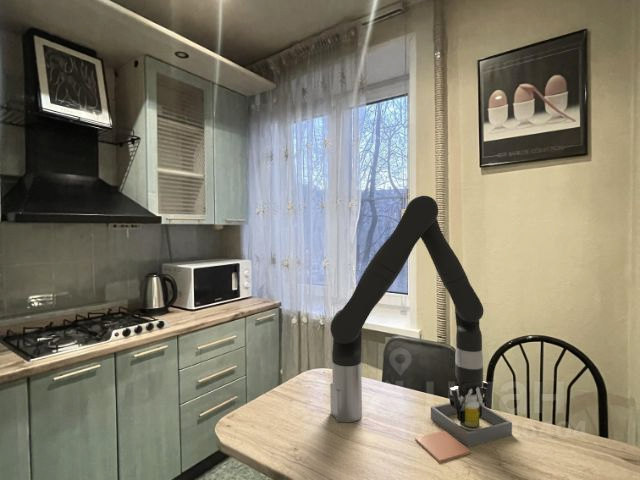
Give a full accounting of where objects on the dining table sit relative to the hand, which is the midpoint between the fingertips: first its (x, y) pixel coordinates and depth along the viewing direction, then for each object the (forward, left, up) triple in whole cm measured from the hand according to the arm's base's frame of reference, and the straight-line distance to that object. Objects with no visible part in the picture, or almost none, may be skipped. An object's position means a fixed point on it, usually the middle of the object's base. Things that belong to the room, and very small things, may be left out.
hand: (469, 419), depth 102 cm
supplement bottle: (0, 0, -2) cm, 2 cm away
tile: (-14, -5, -2) cm, 15 cm away
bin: (0, 0, -2) cm, 2 cm away
